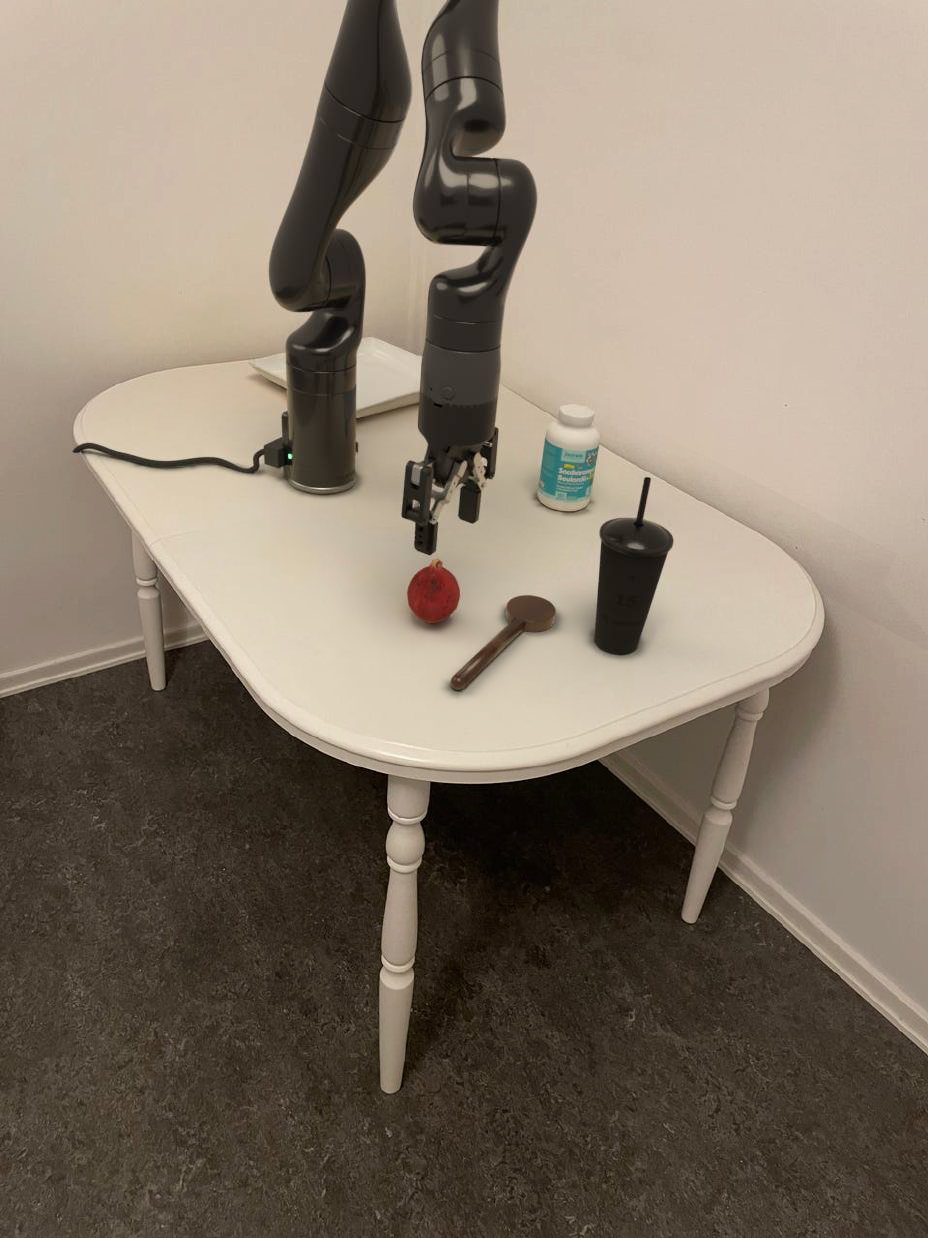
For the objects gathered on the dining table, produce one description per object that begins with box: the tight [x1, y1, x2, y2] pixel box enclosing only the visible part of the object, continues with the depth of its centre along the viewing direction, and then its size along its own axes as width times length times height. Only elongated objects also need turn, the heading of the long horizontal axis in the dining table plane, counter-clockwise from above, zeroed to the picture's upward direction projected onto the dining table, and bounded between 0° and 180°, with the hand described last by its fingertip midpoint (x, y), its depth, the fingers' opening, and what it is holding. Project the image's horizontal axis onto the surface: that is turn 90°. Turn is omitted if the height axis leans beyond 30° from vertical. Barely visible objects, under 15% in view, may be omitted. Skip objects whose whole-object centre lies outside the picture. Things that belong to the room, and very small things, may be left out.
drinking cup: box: [593, 476, 675, 656], centre depth 101 cm, size 8×8×20 cm
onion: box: [406, 558, 461, 624], centre depth 105 cm, size 6×6×8 cm
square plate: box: [248, 336, 422, 419], centre depth 164 cm, size 27×27×4 cm
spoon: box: [450, 594, 557, 691], centre depth 104 cm, size 6×20×2 cm, turn 149°
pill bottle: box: [536, 403, 601, 512], centre depth 131 cm, size 8×7×14 cm
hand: (447, 535), depth 100 cm, fingers open, 8 cm apart
